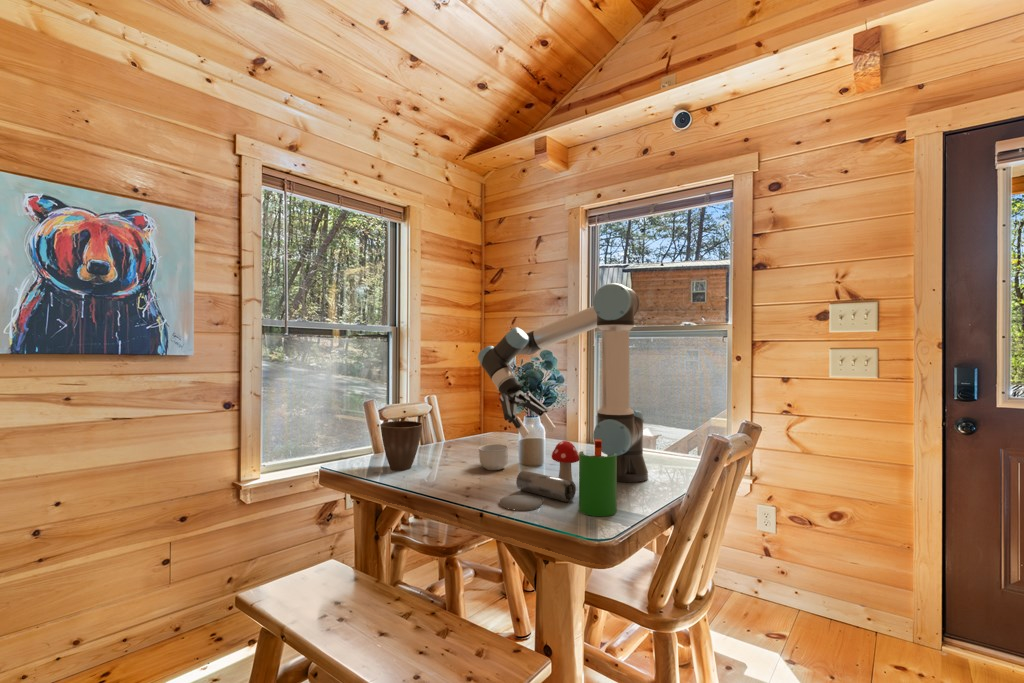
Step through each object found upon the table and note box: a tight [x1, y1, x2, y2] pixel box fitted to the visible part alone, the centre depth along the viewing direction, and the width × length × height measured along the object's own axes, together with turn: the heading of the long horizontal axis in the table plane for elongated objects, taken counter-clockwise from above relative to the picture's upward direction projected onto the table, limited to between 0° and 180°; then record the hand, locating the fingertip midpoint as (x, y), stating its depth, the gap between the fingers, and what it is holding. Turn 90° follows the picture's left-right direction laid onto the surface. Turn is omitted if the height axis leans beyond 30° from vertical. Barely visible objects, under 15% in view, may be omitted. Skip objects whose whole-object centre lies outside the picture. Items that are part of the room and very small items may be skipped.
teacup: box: [478, 443, 509, 471], centre depth 191 cm, size 14×11×8 cm
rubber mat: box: [499, 494, 543, 511], centre depth 148 cm, size 12×12×1 cm
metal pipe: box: [516, 470, 577, 503], centre depth 156 cm, size 6×18×6 cm, turn 47°
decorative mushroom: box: [551, 440, 579, 482], centre depth 163 cm, size 10×9×15 cm
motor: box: [578, 439, 618, 517], centre depth 142 cm, size 10×9×20 cm
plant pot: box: [380, 420, 423, 471], centre depth 189 cm, size 15×15×16 cm
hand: (540, 432), depth 170 cm, fingers open, 13 cm apart
